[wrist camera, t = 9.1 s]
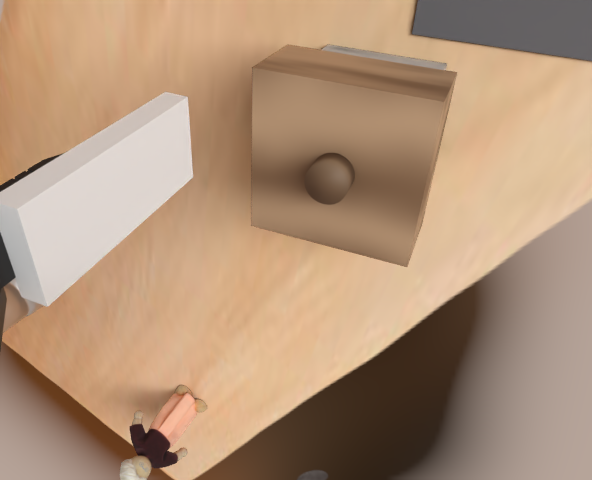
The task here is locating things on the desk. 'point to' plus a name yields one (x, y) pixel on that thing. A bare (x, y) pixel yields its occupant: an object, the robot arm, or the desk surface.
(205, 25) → the desk surface
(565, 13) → the mat
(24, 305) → the plastic bottle
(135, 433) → the grandmother figurine
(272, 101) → the lid
